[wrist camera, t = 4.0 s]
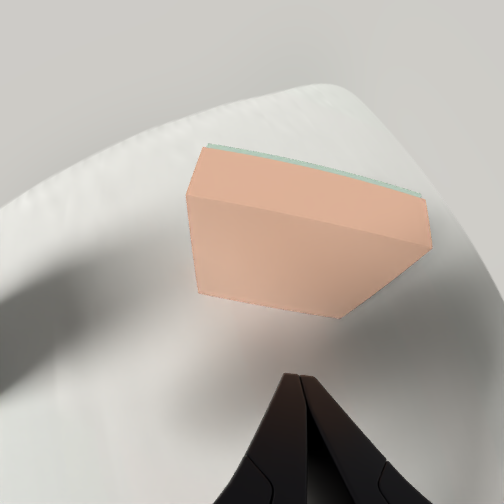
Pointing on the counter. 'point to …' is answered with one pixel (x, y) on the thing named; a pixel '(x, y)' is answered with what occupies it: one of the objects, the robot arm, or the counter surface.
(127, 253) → the counter surface
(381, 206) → the tile
